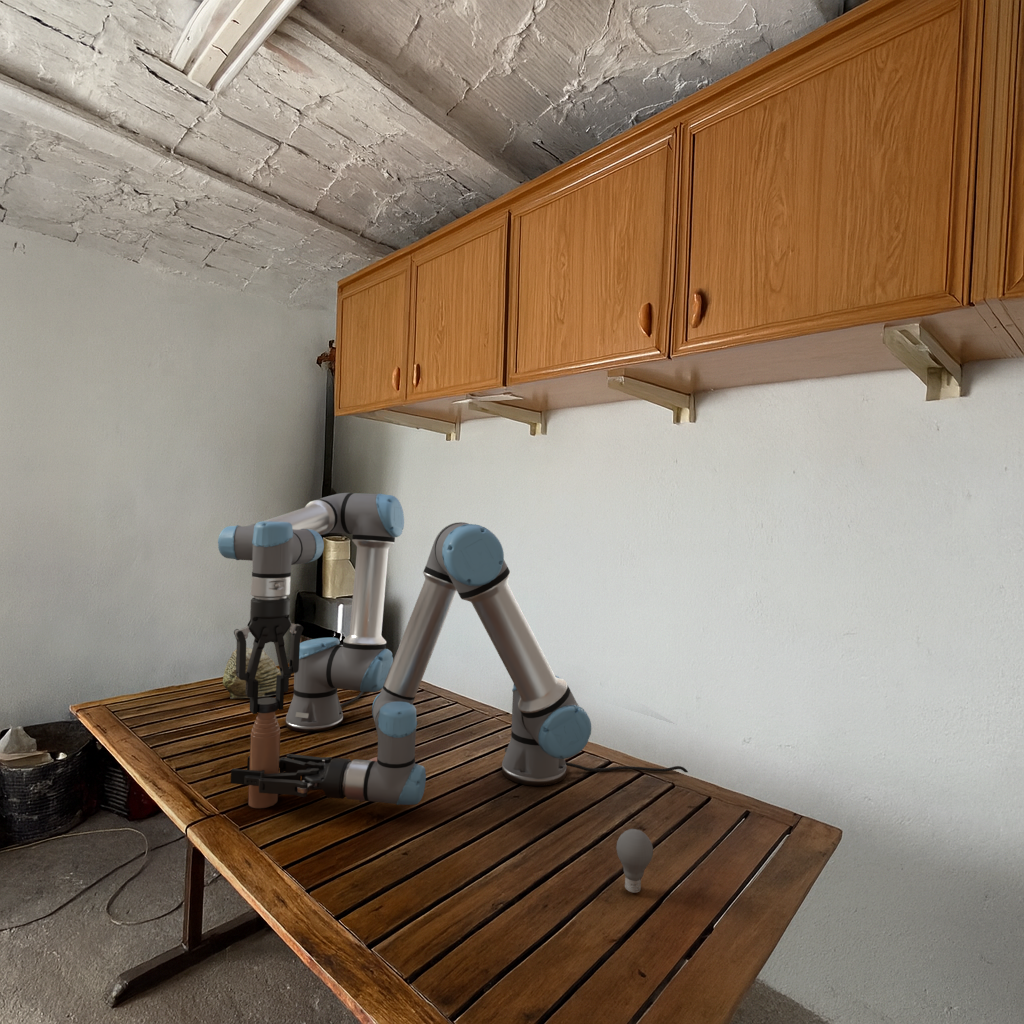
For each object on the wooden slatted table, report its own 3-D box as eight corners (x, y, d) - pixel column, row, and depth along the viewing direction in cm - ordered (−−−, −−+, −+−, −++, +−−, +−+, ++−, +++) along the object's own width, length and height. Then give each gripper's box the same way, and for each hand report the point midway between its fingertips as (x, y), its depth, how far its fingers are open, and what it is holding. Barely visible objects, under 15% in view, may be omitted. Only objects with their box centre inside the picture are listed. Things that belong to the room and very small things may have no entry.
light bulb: (610, 879, 108) (613, 822, 108) (644, 879, 109) (647, 822, 109) (619, 902, 102) (622, 840, 102) (655, 901, 103) (658, 840, 103)
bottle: (241, 804, 129) (245, 705, 129) (262, 792, 134) (266, 698, 134) (263, 810, 127) (267, 710, 126) (283, 798, 132) (287, 702, 132)
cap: (270, 704, 134) (270, 695, 134) (283, 709, 131) (283, 700, 131) (249, 709, 130) (250, 700, 130) (262, 715, 127) (262, 706, 127)
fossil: (218, 695, 195) (220, 647, 195) (278, 685, 208) (279, 640, 207) (228, 703, 189) (230, 653, 188) (289, 692, 201) (290, 645, 201)
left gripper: (230, 602, 121) (225, 723, 122) (319, 597, 132) (315, 707, 133) (220, 596, 127) (216, 711, 128) (306, 591, 138) (302, 698, 139)
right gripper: (330, 820, 119) (213, 809, 122) (363, 777, 138) (261, 768, 140) (331, 780, 119) (215, 770, 122) (364, 743, 138) (263, 734, 140)
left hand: (266, 709), depth 130 cm, fingers closed on cap, 4 cm apart
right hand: (240, 769), depth 131 cm, fingers closed on bottle, 6 cm apart
